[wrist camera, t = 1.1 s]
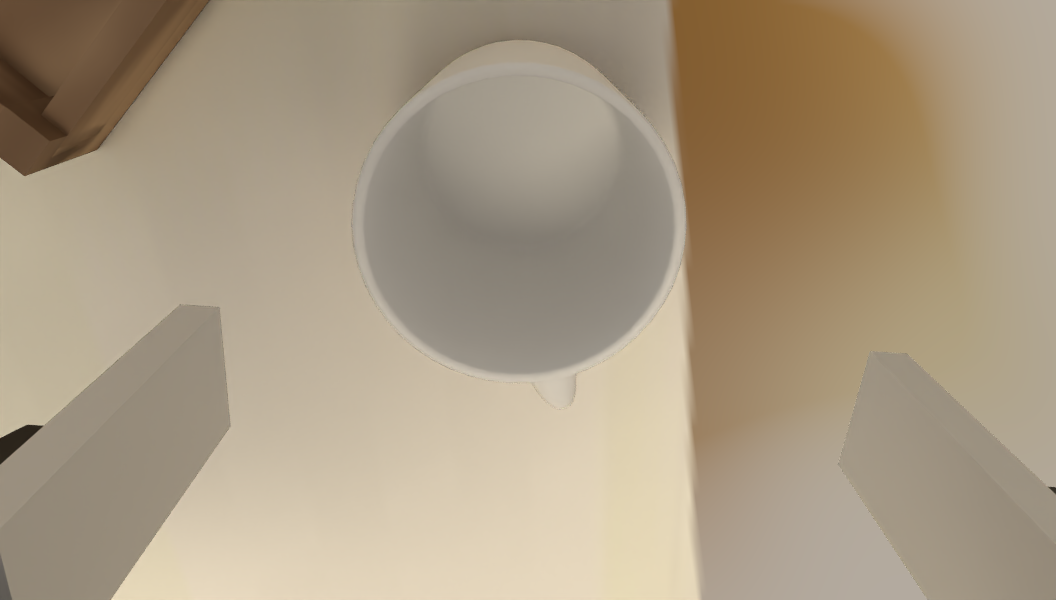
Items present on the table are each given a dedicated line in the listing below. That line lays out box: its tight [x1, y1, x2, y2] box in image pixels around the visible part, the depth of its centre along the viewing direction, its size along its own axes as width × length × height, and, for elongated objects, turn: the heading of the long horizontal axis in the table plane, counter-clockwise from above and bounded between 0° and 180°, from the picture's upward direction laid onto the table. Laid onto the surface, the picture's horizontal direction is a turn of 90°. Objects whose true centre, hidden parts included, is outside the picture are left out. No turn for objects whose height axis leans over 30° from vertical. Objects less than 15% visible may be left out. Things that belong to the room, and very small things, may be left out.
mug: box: [352, 40, 686, 409], centre depth 24 cm, size 9×12×11 cm
